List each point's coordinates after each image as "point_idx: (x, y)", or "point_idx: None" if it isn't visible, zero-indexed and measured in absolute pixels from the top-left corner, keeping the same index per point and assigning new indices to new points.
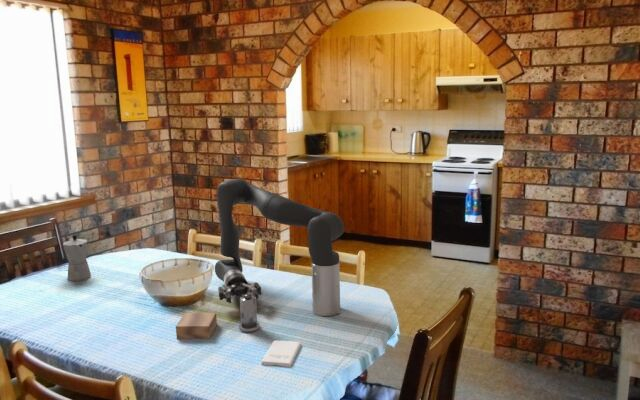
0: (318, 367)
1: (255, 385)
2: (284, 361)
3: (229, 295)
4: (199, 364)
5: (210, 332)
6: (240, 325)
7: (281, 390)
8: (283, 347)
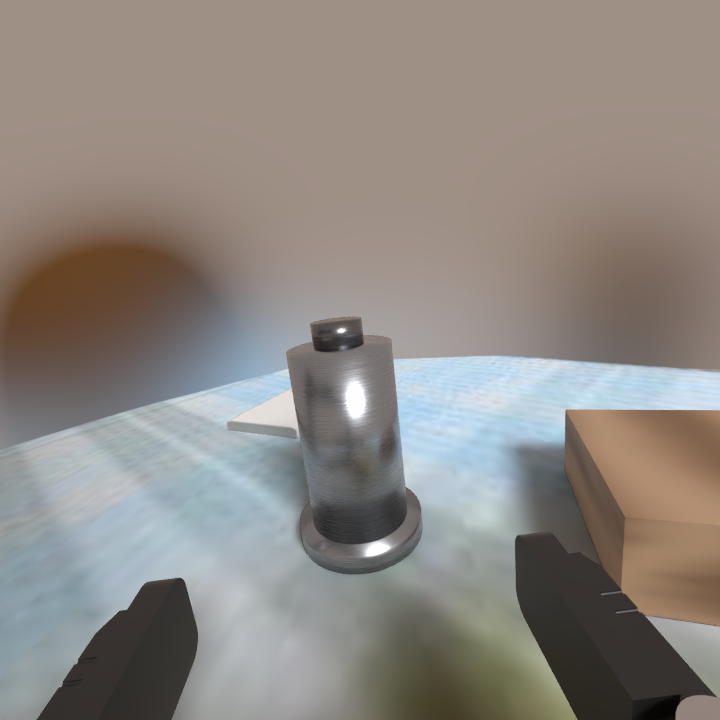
0: (252, 388)
1: None
2: None
3: (565, 583)
4: (522, 389)
5: (570, 466)
6: (411, 515)
7: None
8: (286, 407)
